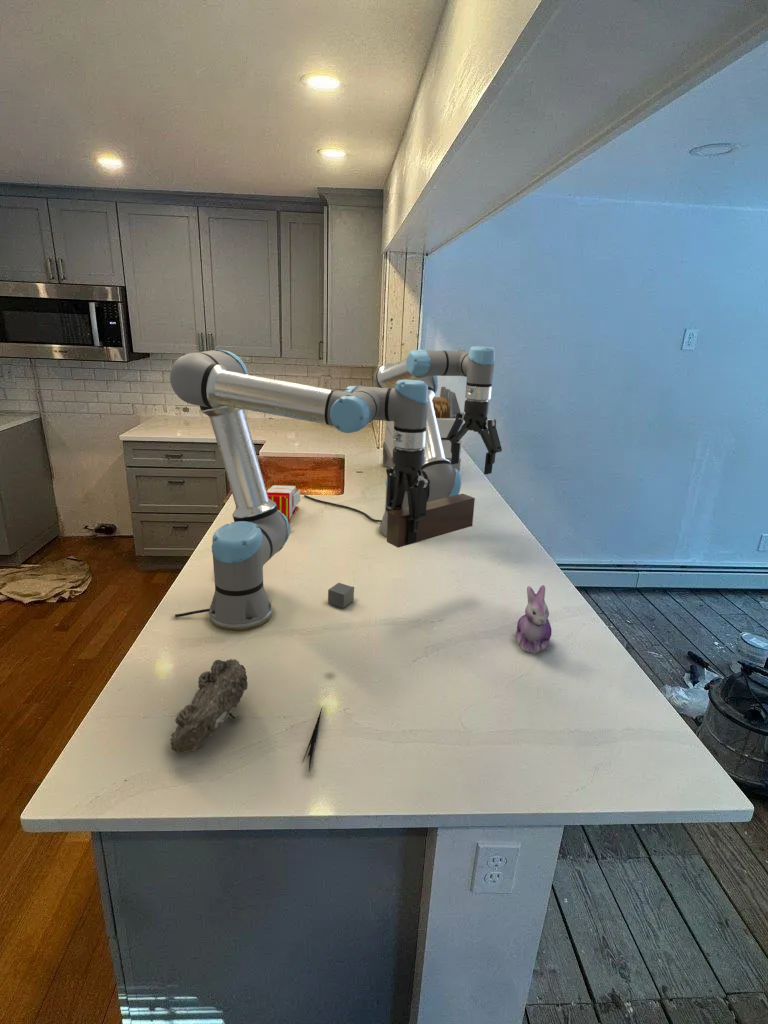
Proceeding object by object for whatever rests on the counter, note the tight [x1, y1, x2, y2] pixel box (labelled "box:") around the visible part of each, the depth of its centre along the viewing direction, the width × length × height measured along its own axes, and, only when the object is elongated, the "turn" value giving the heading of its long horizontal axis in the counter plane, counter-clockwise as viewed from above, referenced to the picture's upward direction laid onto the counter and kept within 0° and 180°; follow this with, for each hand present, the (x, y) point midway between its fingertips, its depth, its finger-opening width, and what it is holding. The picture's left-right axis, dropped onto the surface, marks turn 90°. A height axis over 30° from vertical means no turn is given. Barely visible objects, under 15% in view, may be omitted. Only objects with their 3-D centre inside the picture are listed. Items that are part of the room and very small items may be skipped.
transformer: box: [381, 386, 465, 472], centre depth 268 cm, size 34×33×41 cm
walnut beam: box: [386, 493, 476, 549], centre depth 145 cm, size 4×26×8 cm, turn 129°
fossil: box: [170, 658, 249, 753], centre depth 106 cm, size 22×10×15 cm
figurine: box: [515, 584, 552, 654], centre depth 134 cm, size 9×10×15 cm
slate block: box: [327, 582, 355, 609], centre depth 152 cm, size 5×5×4 cm
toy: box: [266, 484, 301, 526], centre depth 208 cm, size 12×13×30 cm
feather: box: [301, 673, 332, 771], centre depth 108 cm, size 2×28×2 cm
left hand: (404, 539), depth 141 cm, fingers closed on walnut beam, 4 cm apart
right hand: (470, 468), depth 177 cm, fingers open, 13 cm apart
